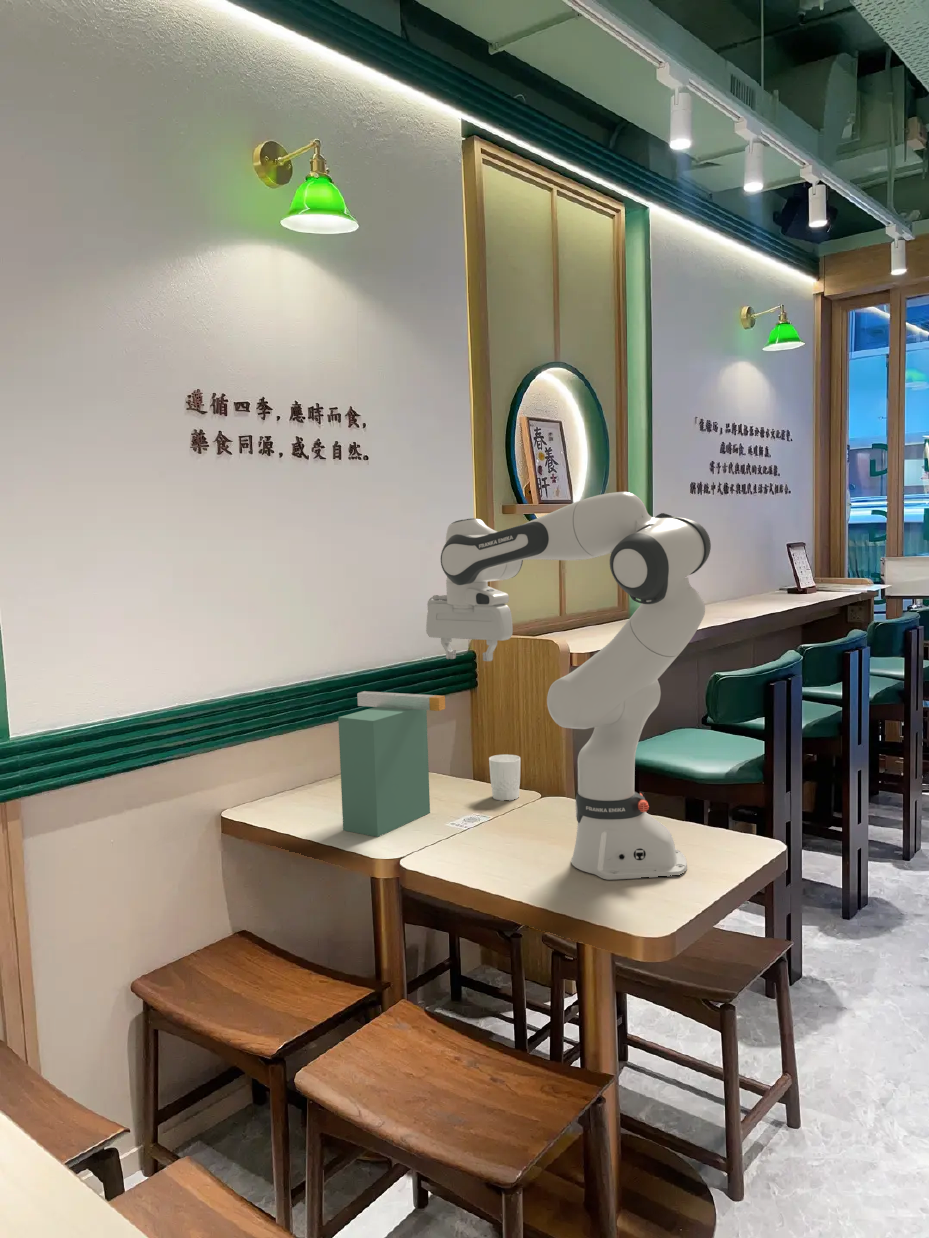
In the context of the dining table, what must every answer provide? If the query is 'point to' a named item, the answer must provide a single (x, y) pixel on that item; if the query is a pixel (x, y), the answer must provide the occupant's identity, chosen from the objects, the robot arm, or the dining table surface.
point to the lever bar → (401, 700)
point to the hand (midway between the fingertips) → (469, 659)
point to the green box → (383, 769)
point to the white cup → (505, 776)
